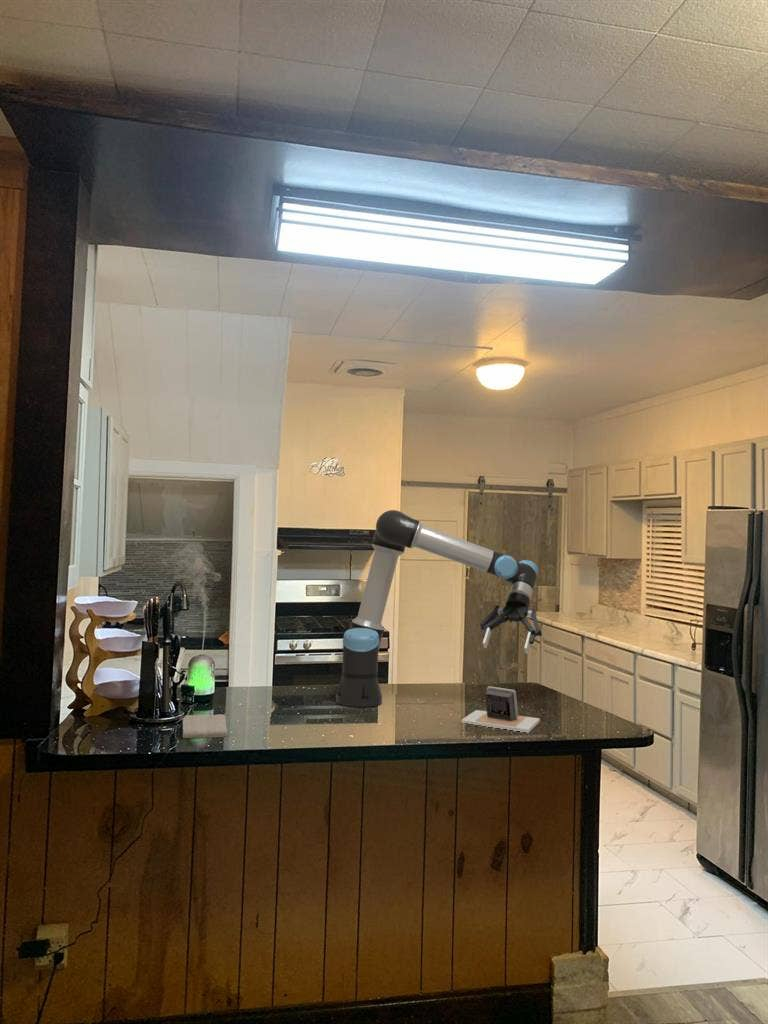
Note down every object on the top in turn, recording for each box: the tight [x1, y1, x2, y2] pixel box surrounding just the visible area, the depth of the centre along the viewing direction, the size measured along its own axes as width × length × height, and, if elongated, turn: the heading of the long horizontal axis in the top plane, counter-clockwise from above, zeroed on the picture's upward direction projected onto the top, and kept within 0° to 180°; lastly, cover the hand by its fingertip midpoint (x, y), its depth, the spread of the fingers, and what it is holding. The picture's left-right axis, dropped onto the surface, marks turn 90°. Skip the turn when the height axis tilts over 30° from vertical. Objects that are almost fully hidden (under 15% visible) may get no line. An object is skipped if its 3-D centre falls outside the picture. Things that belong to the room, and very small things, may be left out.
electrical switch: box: [484, 685, 519, 721], centre depth 214 cm, size 9×5×9 cm, turn 56°
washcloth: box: [181, 713, 229, 739], centre depth 196 cm, size 12×18×3 cm, turn 16°
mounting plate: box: [460, 709, 541, 734], centre depth 214 cm, size 20×15×1 cm
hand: (504, 648), depth 229 cm, fingers open, 13 cm apart
